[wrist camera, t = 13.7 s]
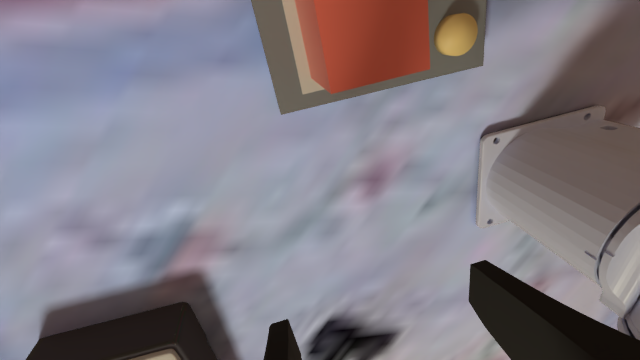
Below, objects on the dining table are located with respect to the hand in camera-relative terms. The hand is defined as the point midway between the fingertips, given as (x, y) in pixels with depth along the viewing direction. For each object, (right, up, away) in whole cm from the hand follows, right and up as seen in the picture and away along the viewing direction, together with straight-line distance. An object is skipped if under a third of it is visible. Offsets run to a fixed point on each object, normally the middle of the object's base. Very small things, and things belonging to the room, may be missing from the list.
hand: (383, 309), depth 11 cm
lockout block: (-1, +13, +4) cm, 13 cm away
